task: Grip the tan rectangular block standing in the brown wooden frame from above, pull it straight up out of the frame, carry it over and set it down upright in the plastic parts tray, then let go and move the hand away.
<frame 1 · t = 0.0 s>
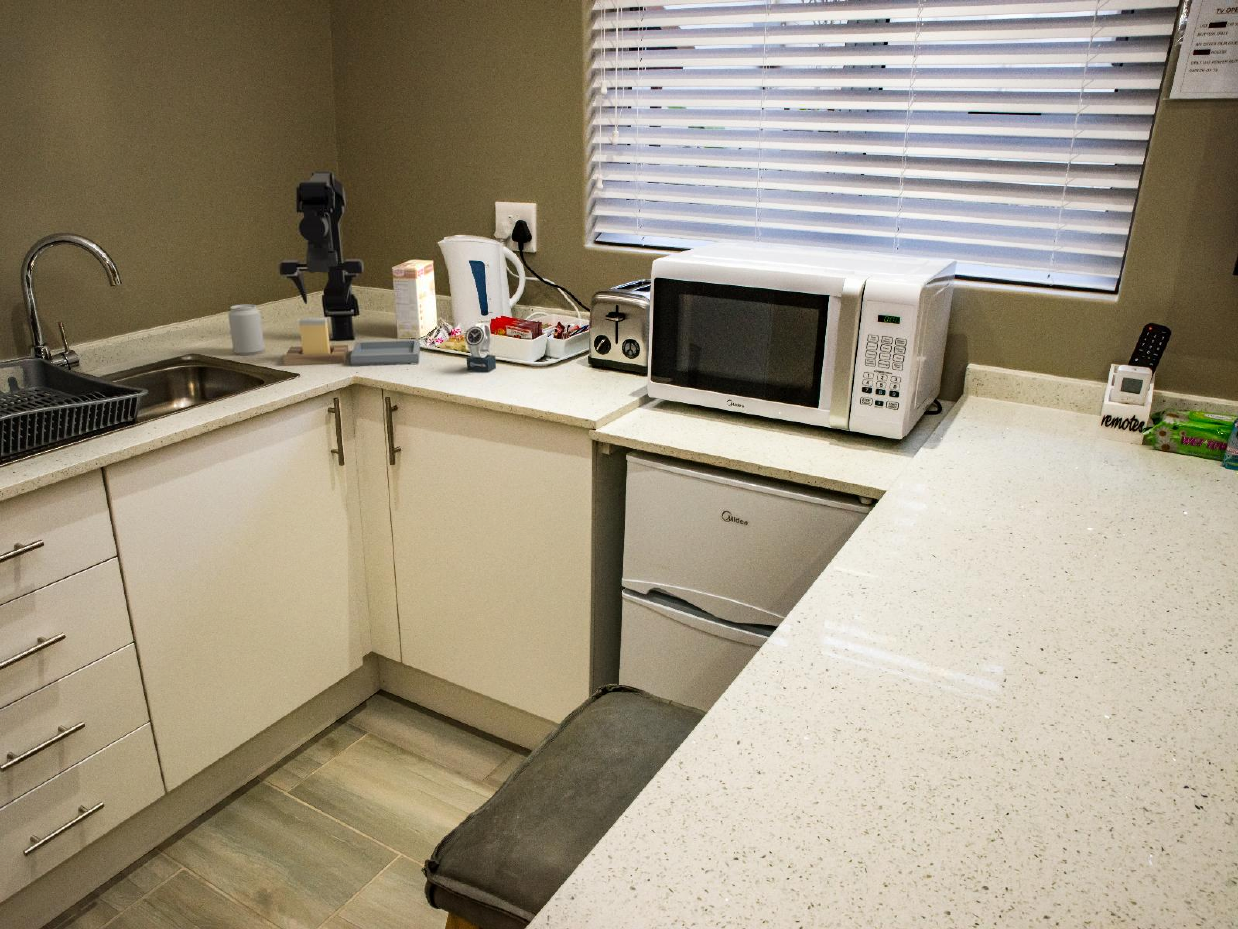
hand: (325, 302, 223), 15 cm above the worktop, tool pointing down, fingers open, 9 cm apart
coffeecake box: (418, 334, 261), on the worktop
can: (249, 353, 238), on the worktop
watch: (481, 370, 223), on the worktop
parts tray: (387, 357, 234), on the worktop
tan rectangular block: (317, 359, 232), resting in brown wooden frame
brown wooden frame: (317, 358, 232), on the worktop
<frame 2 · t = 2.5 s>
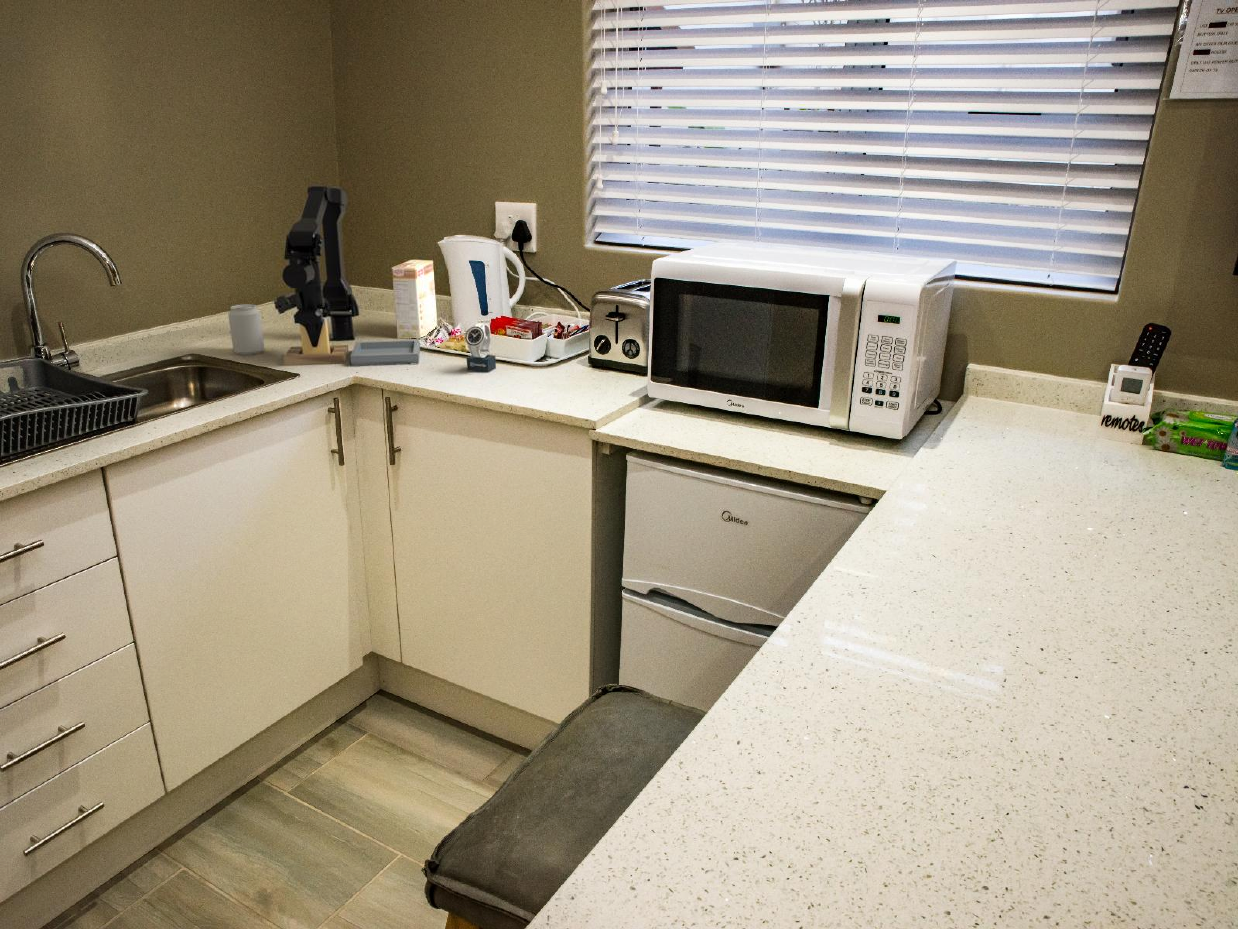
hand: (316, 345, 231), 4 cm above the worktop, tool pointing down, fingers closed on tan rectangular block, 4 cm apart
tan rectangular block: (317, 358, 232), resting in brown wooden frame, touching gripper
everything else where it was.
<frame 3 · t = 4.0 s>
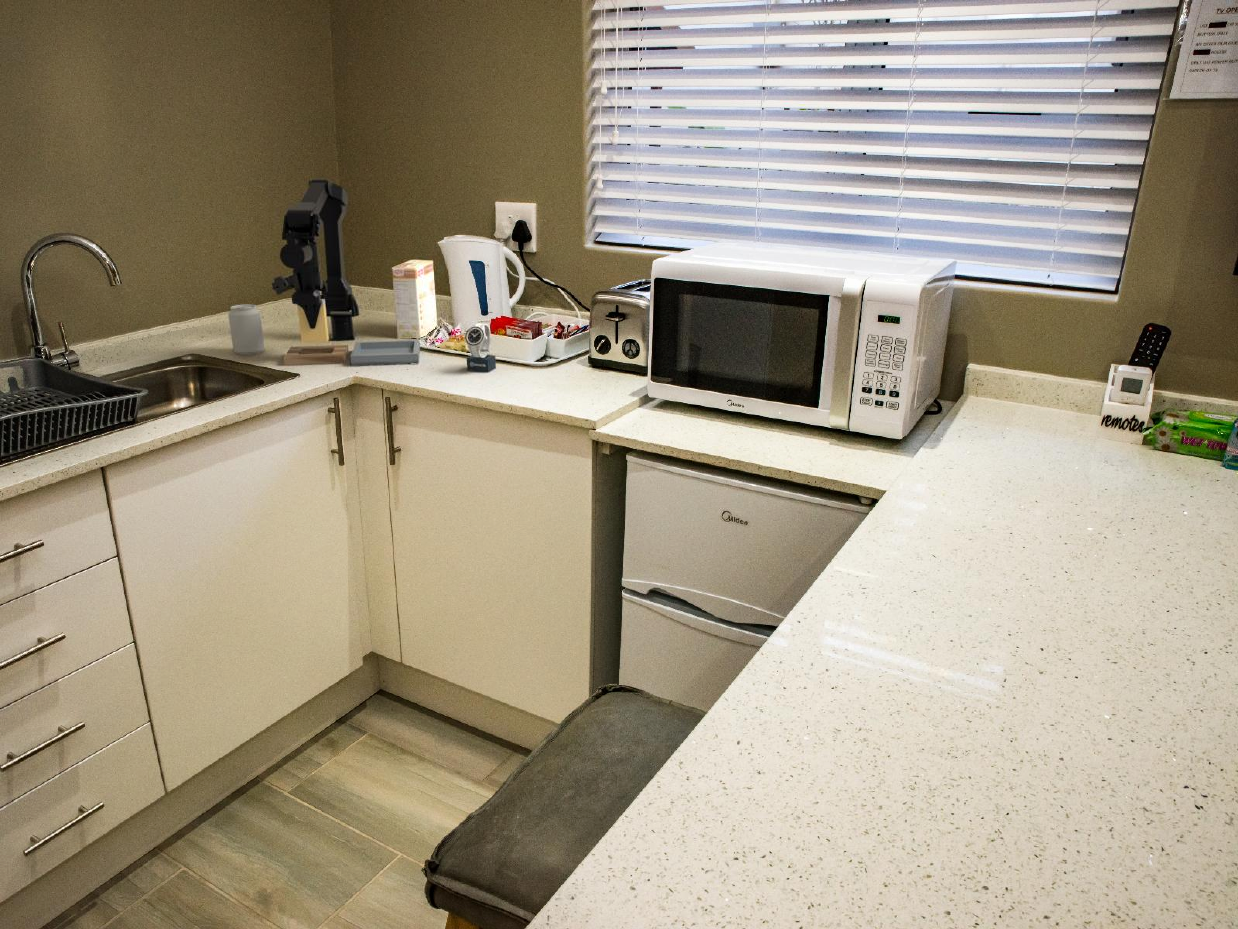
hand: (313, 326, 229), 8 cm above the worktop, tool pointing down, fingers closed on tan rectangular block, 4 cm apart
tan rectangular block: (315, 341, 230), point 5 cm above the worktop, touching gripper
everything else where it was.
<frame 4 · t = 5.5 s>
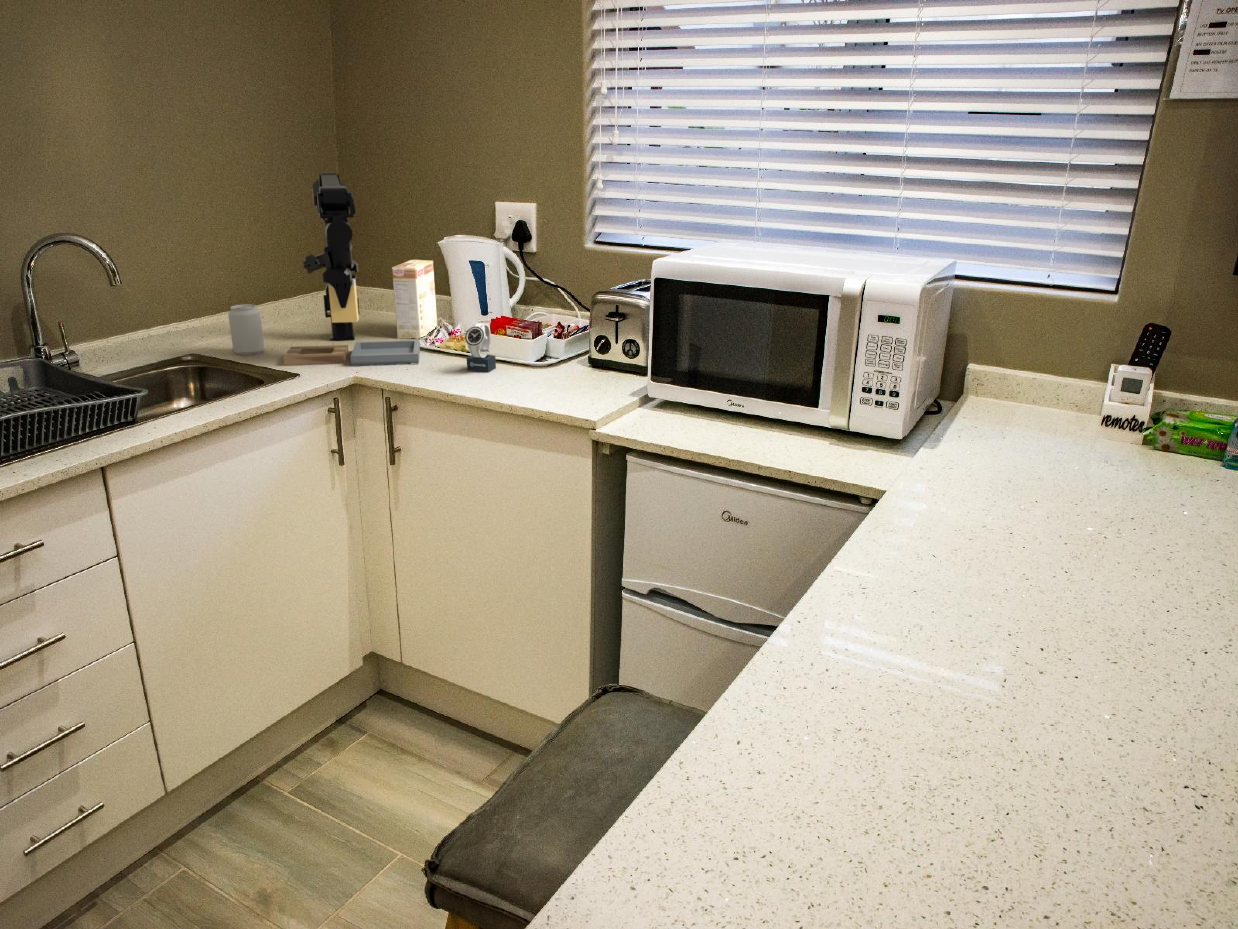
hand: (344, 306, 228), 13 cm above the worktop, tool pointing down, fingers closed on tan rectangular block, 4 cm apart
tan rectangular block: (345, 320, 229), point 10 cm above the worktop, touching gripper
everything else where it was.
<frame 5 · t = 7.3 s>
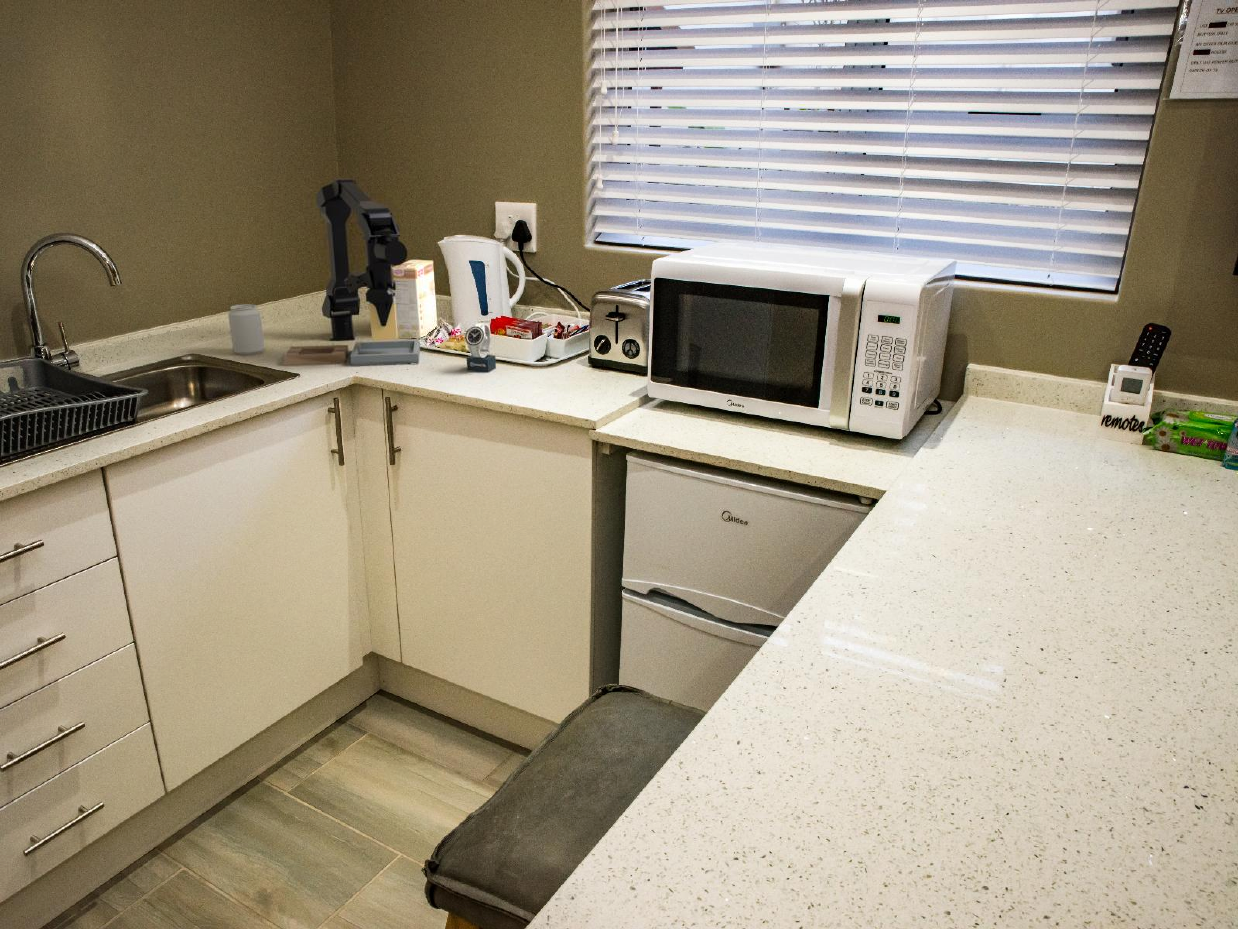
hand: (384, 324, 231), 8 cm above the worktop, tool pointing down, fingers closed on tan rectangular block, 4 cm apart
tan rectangular block: (385, 338, 232), point 5 cm above the worktop, touching gripper
everything else where it was.
when the fingers open (5 cm above the worktop, at t = 8.7 s): tan rectangular block stays where it is, resting on parts tray.
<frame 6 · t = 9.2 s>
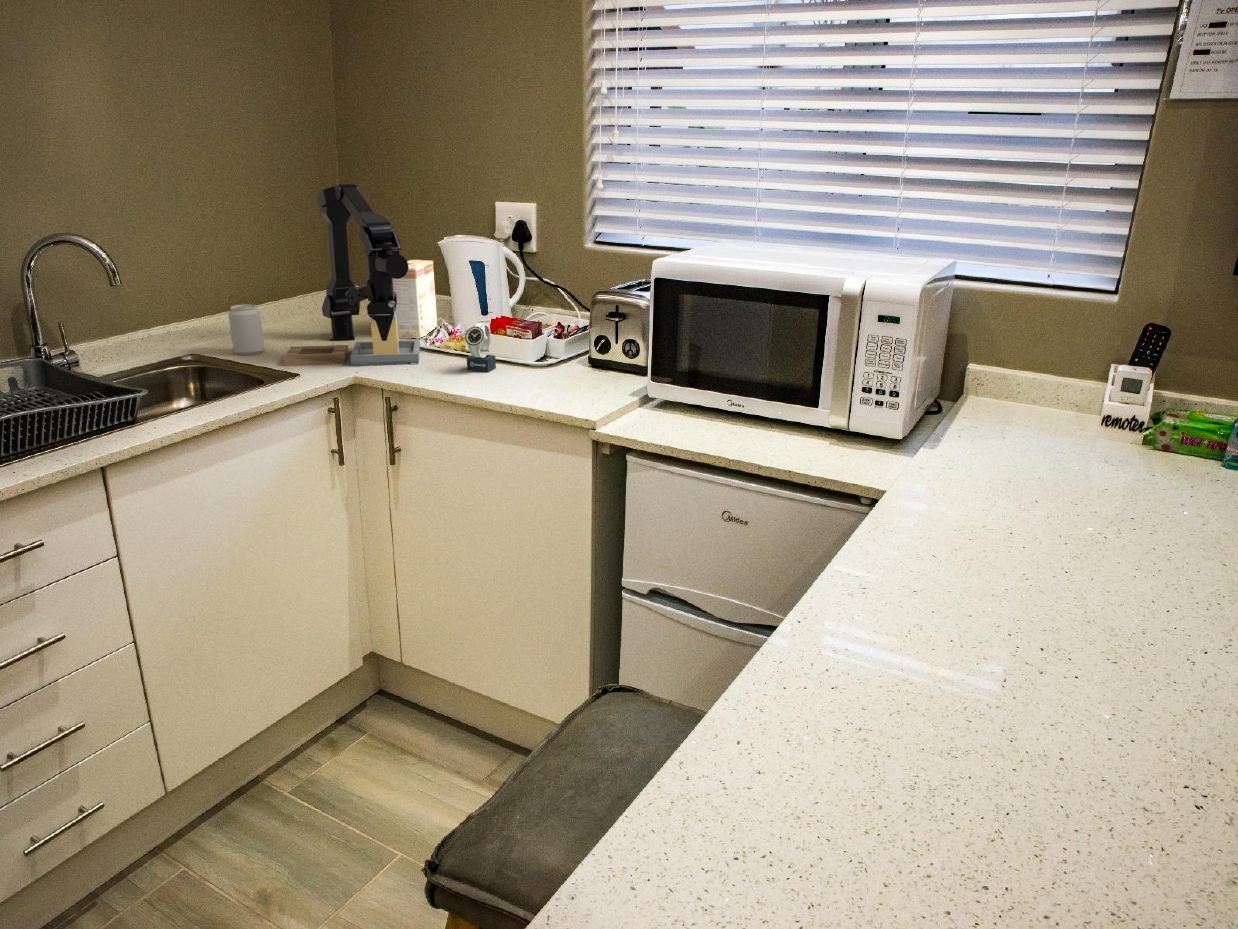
hand: (385, 336, 232), 5 cm above the worktop, tool pointing down, fingers open, 9 cm apart
tan rectangular block: (386, 354, 233), point 1 cm above the worktop, touching parts tray
everything else where it was.
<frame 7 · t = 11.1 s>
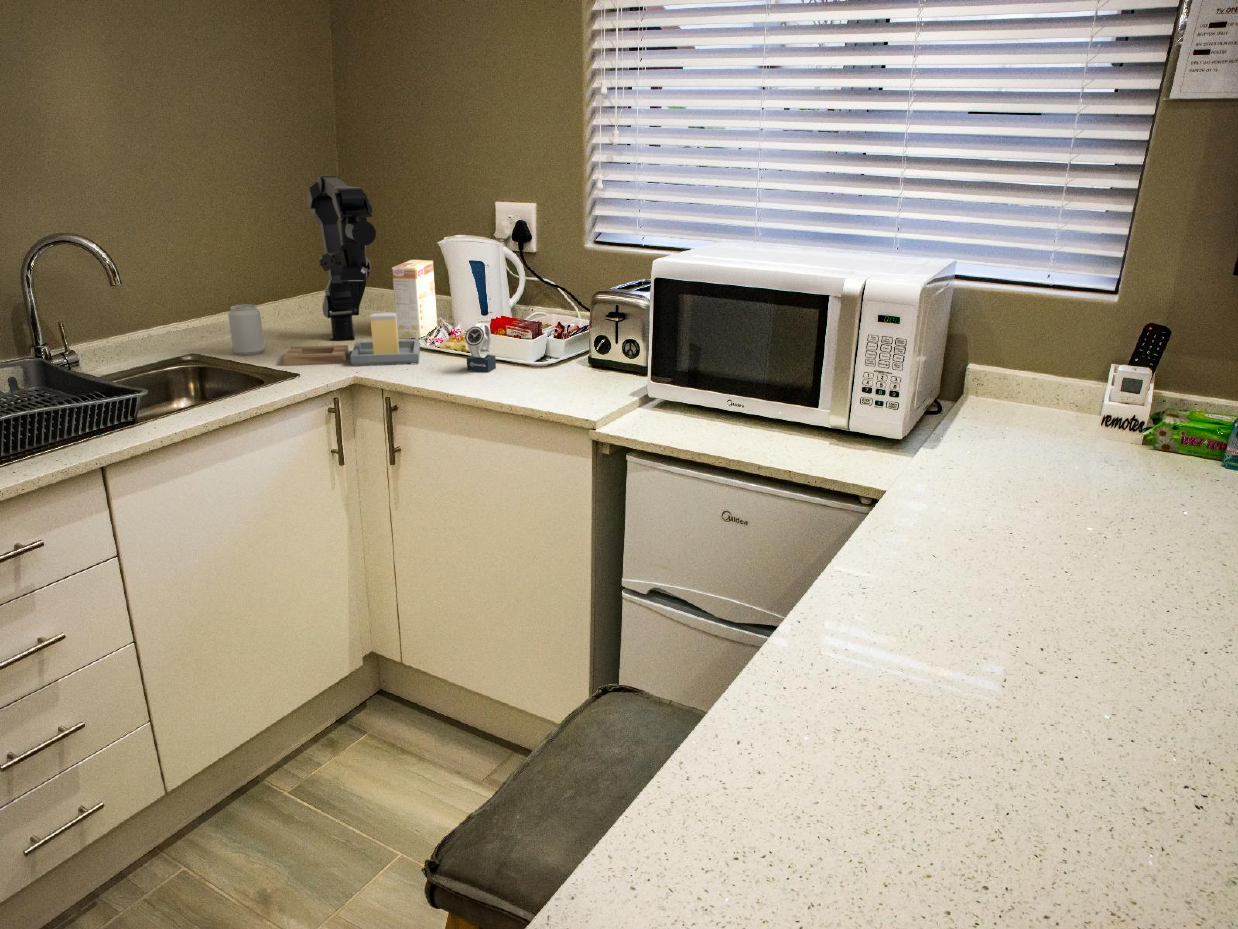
hand: (358, 302, 235), 13 cm above the worktop, tool pointing down, fingers open, 9 cm apart
nothing on the worktop moved.
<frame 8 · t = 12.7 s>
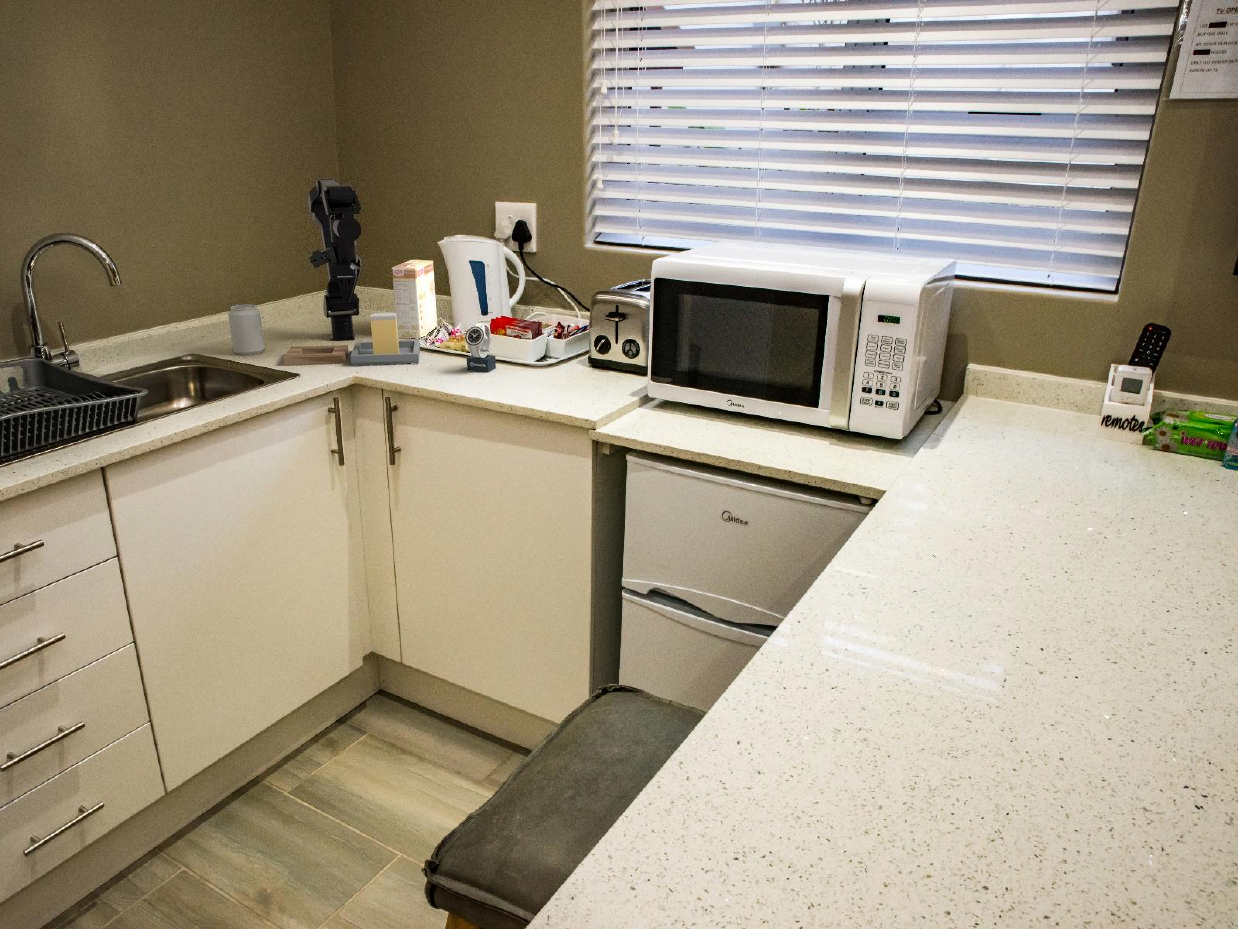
hand: (349, 299, 237), 13 cm above the worktop, tool pointing down, fingers open, 9 cm apart
nothing on the worktop moved.
at the end: tan rectangular block inside the target area on the parts tray (0.1 cm from its centre), point 0.8 cm above the parts tray's base; tan rectangular block tilted 0°; the gripper is holding nothing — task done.
